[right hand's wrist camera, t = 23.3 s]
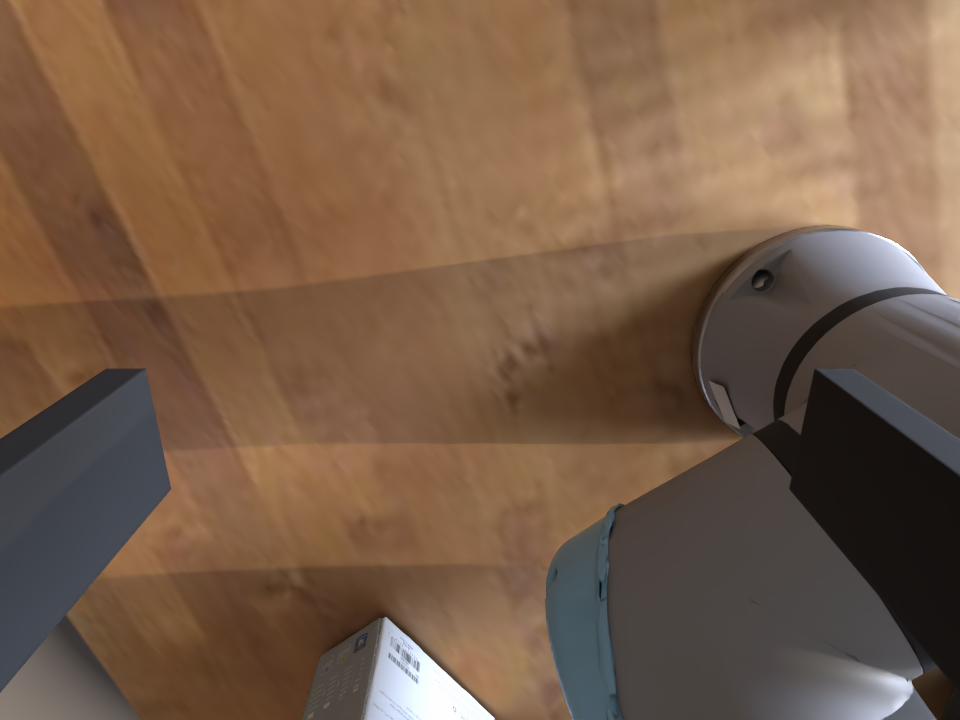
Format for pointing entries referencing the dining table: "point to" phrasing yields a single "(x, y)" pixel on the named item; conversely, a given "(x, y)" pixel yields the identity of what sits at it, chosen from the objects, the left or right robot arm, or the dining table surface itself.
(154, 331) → the dining table surface
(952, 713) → the sphere
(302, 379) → the dining table surface
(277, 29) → the dining table surface
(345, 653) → the hard drive box
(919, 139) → the dining table surface
